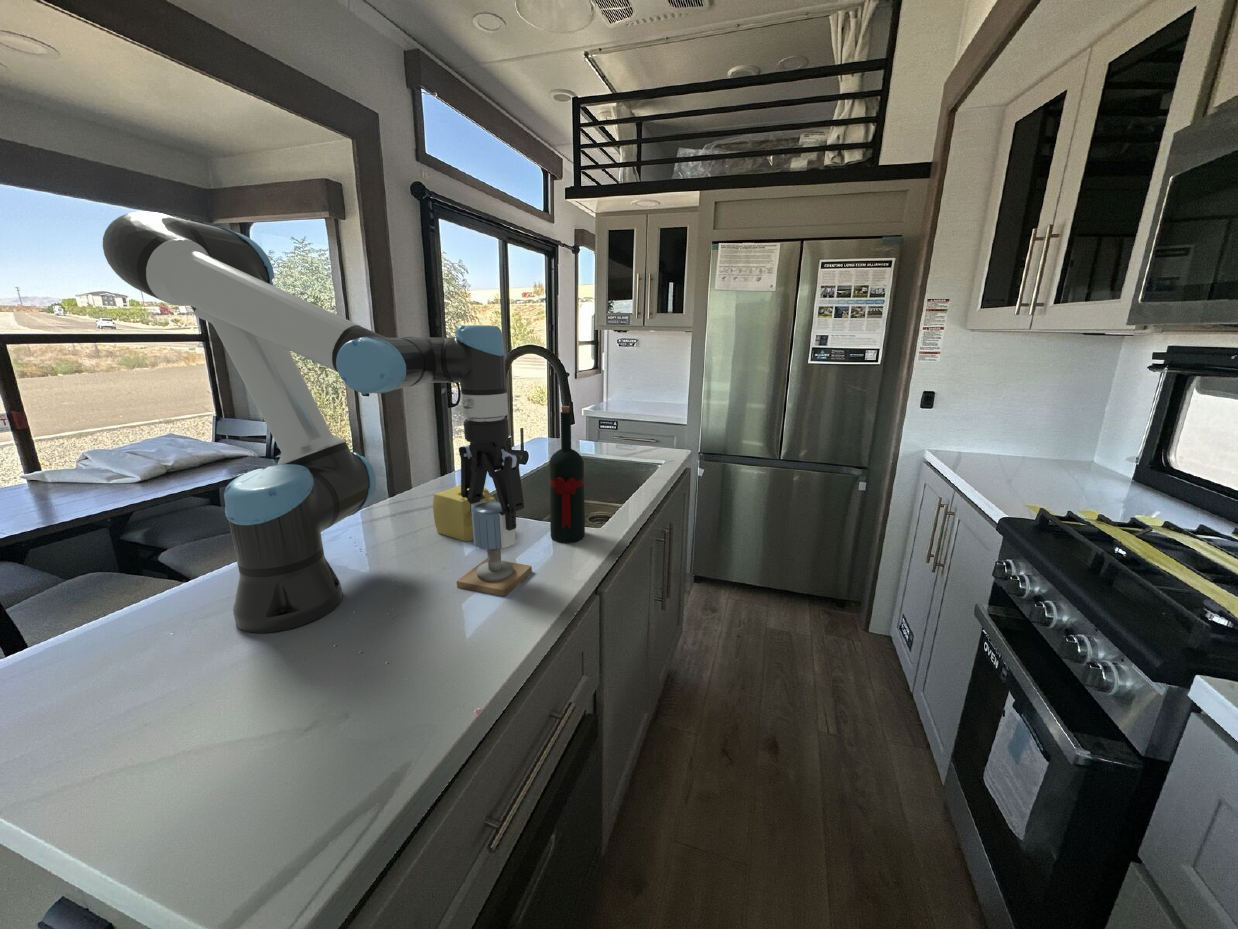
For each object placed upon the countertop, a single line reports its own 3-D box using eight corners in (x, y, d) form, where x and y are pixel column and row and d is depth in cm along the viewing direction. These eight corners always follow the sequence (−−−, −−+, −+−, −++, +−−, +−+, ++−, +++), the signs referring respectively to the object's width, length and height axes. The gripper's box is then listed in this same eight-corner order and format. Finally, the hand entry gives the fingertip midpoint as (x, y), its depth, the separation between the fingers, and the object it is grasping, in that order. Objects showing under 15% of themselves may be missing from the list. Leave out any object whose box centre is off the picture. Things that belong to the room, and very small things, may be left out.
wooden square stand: (457, 587, 90) (454, 553, 88) (487, 563, 99) (485, 532, 97) (504, 596, 86) (502, 561, 85) (531, 571, 96) (530, 539, 94)
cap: (466, 542, 90) (463, 509, 88) (496, 530, 95) (494, 499, 94) (491, 552, 86) (489, 517, 84) (521, 539, 91) (519, 506, 90)
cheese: (499, 528, 117) (497, 488, 114) (464, 544, 108) (460, 501, 105) (470, 519, 122) (467, 481, 119) (433, 533, 113) (429, 492, 111)
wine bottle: (548, 548, 106) (544, 411, 98) (551, 529, 116) (548, 403, 108) (584, 547, 107) (583, 411, 99) (585, 529, 116) (584, 404, 109)
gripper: (432, 414, 87) (444, 533, 93) (508, 427, 76) (516, 561, 82) (467, 409, 93) (476, 521, 99) (542, 420, 82) (547, 546, 88)
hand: (494, 539), depth 90 cm, fingers closed on cap, 7 cm apart
